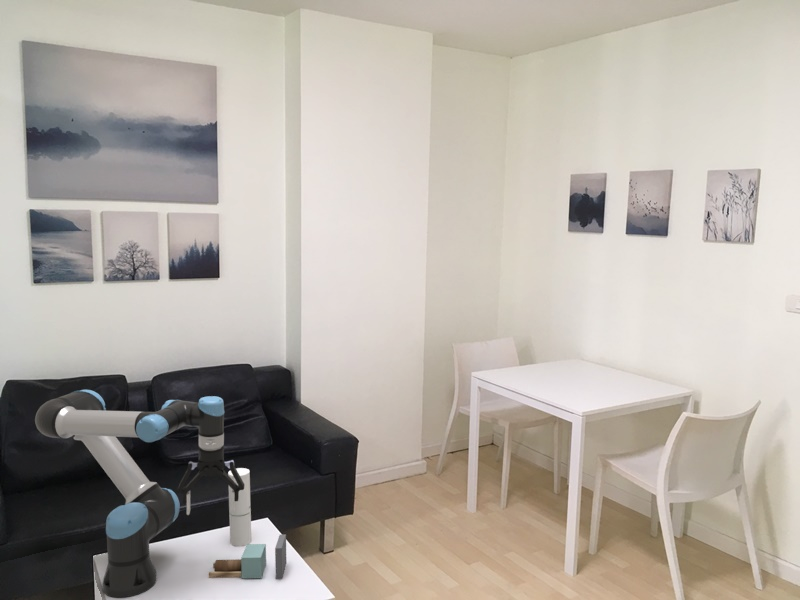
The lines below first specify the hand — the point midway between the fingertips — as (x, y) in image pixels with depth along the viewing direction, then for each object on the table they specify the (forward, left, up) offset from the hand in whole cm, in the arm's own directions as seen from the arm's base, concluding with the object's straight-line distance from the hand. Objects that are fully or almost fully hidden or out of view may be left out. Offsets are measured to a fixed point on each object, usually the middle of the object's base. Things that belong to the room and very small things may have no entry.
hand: (211, 511), depth 203 cm
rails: (+5, -1, -19) cm, 20 cm away
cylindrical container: (+5, +19, -20) cm, 27 cm away
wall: (+22, -1, -19) cm, 29 cm away
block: (+13, -1, -19) cm, 24 cm away
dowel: (+5, -1, -20) cm, 20 cm away
